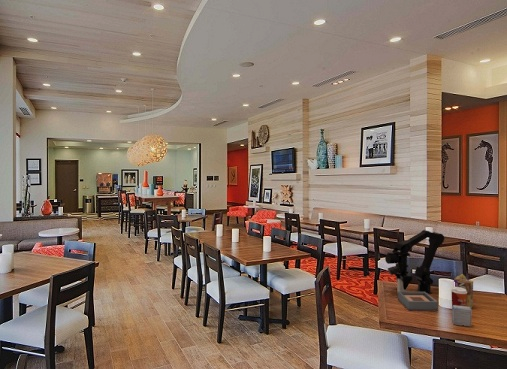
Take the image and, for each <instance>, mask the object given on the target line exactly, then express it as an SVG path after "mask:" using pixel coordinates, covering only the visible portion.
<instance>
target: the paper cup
mask: <svg viewBox="0 0 507 369" xmlns="http://www.w3.org/2000/svg"><path fill="white" fill-rule="evenodd" d="M450 291H451V306H452V305H456V306H465V304H466V294H467V291H466V289H464V288H461V287H454V286H452V287H451V289H450Z"/></svg>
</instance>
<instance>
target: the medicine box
mask: <svg viewBox="0 0 507 369" xmlns="http://www.w3.org/2000/svg"><path fill="white" fill-rule="evenodd" d="M472 311H473V310H472V308H469V307H465V306H456V305H452V304H451V323H452V324H453V325H454V324H455V326H462V325H464V327H472V313H473V312H472Z"/></svg>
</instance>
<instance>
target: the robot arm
mask: <svg viewBox="0 0 507 369" xmlns="http://www.w3.org/2000/svg"><path fill="white" fill-rule="evenodd" d="M426 239H428V244H429V245H428V248H427V251H426V253H425V255H424V258H423V260H422V262H421V265H420V266H416V268H415V270H414V276H415V278H416V281H418V283H417V290H416V291H417V292H426V293H427V294H432V293H433V292H432V291H431V290H432V289H431V287H432V286H431V285H433V284H434V280H433V279H432V278H431V266H432V264H433V261H434V259H435V256H436V253H437V251H438V248H439V247H441V246H442V245H443V243H444V241H445V236H444V234H442V233H438V232H434V231H433V232H432V231H430V230H426V229H423V230H421V231H420V232H419V233H417V234H415V235H413V236H412V237H409V238H408V239H407V240H401V241H399V242H397V243H396V245H395V246H394V248H393V250H392V251H391V252H387V254H386V255H385V257H384V258H385V259H384V260H385V262H386V264H388V265H392V264H395V266H394V265H392V266H390V267H387V271H388V274H390V276H393V275H394V276H395V279H396V280H397V279H401V280H402V281H403V288H404V290H406V291H407V288H408V286H409V285H410V283H411V282H413V280H414V277H413V276H412V275H411V274H410V273H409V271H408V268H409V265H408V257H411V254H410V253H409V252H410V251H412V249H413V247H414V246H415V245H417V244H419V243H421V242H422V241H424V240H426Z"/></svg>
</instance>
